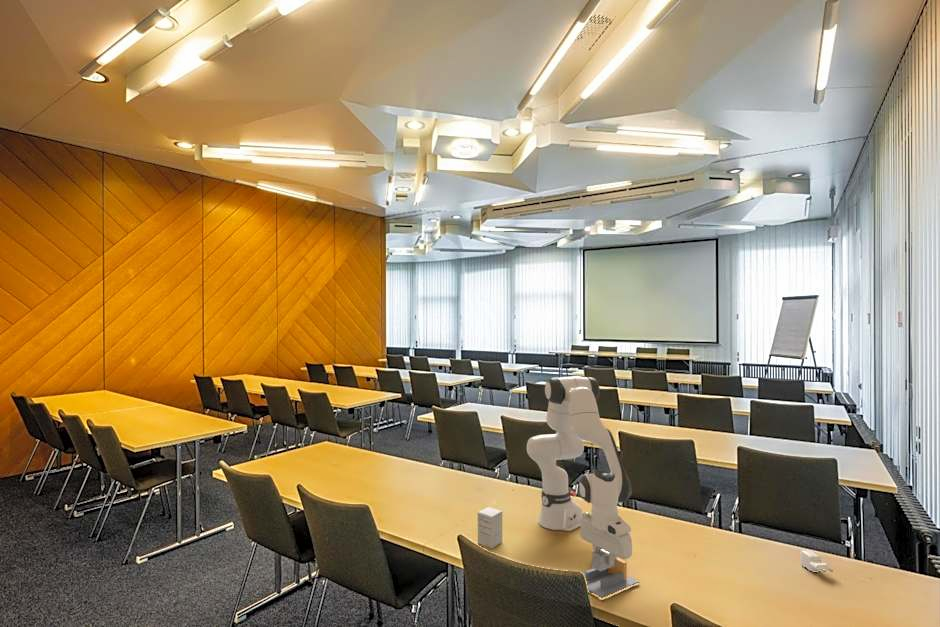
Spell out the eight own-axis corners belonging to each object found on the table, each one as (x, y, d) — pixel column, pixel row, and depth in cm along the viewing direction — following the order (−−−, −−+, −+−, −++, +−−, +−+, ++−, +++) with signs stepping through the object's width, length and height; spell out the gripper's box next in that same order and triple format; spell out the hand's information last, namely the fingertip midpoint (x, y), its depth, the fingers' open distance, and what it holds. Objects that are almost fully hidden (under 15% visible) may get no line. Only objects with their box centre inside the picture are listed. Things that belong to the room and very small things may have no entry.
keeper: (606, 567, 182) (606, 547, 182) (638, 585, 170) (638, 563, 170) (570, 581, 172) (570, 560, 172) (601, 601, 160) (601, 578, 160)
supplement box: (488, 537, 207) (488, 506, 207) (502, 542, 202) (503, 510, 202) (476, 543, 201) (477, 511, 201) (491, 549, 196) (491, 516, 196)
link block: (608, 561, 175) (608, 546, 175) (616, 565, 172) (616, 550, 172) (592, 567, 170) (592, 552, 170) (600, 571, 167) (600, 556, 167)
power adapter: (835, 581, 173) (835, 563, 173) (822, 581, 173) (822, 564, 173) (810, 565, 184) (810, 549, 185) (798, 565, 184) (798, 549, 184)
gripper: (575, 512, 178) (575, 551, 178) (622, 533, 161) (622, 576, 161) (588, 508, 182) (588, 547, 182) (635, 528, 165) (635, 571, 164)
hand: (604, 561), depth 171 cm, fingers closed on link block, 3 cm apart
